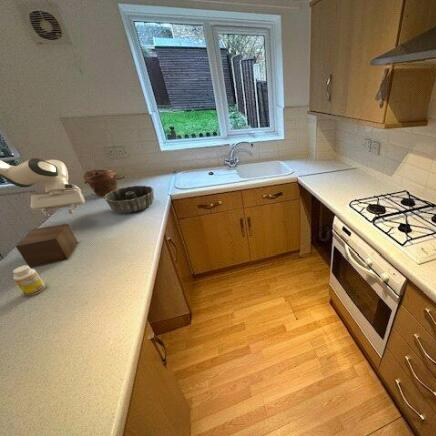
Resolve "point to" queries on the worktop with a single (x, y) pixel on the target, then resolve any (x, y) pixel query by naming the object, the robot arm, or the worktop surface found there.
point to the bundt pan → (130, 198)
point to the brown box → (47, 245)
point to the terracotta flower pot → (101, 181)
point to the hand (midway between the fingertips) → (59, 215)
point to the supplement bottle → (28, 280)
